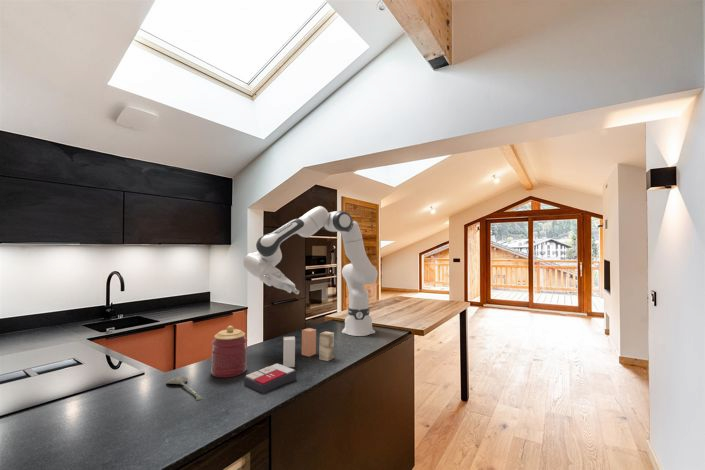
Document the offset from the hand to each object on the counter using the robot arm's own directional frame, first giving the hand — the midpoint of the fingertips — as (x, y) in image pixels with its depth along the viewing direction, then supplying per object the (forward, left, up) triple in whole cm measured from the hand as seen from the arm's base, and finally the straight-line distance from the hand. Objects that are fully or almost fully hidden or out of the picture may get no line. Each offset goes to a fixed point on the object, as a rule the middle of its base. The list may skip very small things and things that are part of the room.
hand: (294, 292), depth 152 cm
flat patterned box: (+32, -4, -28) cm, 43 cm away
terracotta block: (+2, +7, -28) cm, 29 cm away
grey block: (+15, 0, -28) cm, 32 cm away
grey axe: (+37, -32, -28) cm, 57 cm away
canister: (+22, -22, -28) cm, 42 cm away
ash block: (+8, +15, -28) cm, 32 cm away
